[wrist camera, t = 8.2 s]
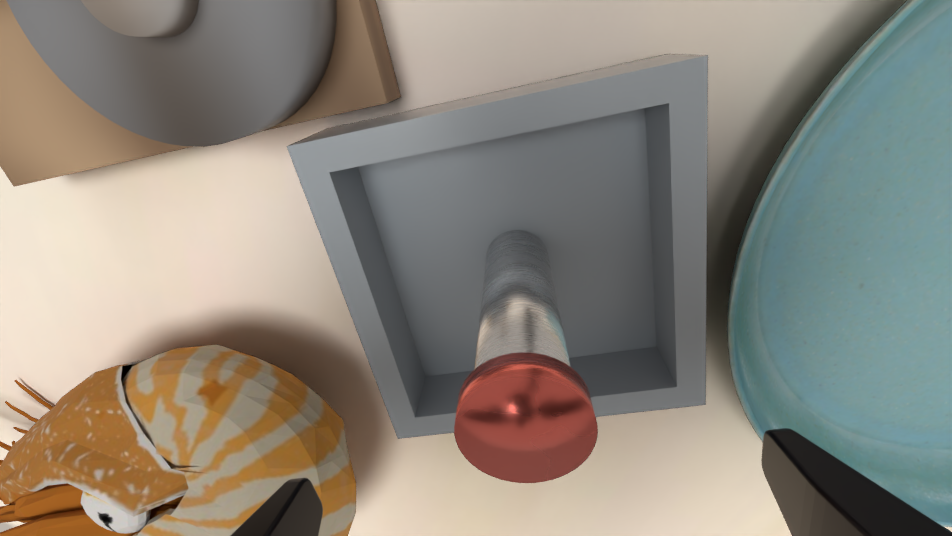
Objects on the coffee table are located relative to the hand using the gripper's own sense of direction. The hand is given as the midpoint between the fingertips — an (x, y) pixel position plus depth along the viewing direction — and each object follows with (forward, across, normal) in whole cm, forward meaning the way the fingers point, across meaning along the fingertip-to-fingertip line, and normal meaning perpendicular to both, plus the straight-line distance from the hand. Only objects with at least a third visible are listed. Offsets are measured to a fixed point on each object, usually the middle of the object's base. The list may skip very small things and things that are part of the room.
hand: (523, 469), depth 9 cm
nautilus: (+11, +19, +6) cm, 22 cm away
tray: (+10, 0, 0) cm, 10 cm away
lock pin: (+10, 0, 0) cm, 10 cm away
